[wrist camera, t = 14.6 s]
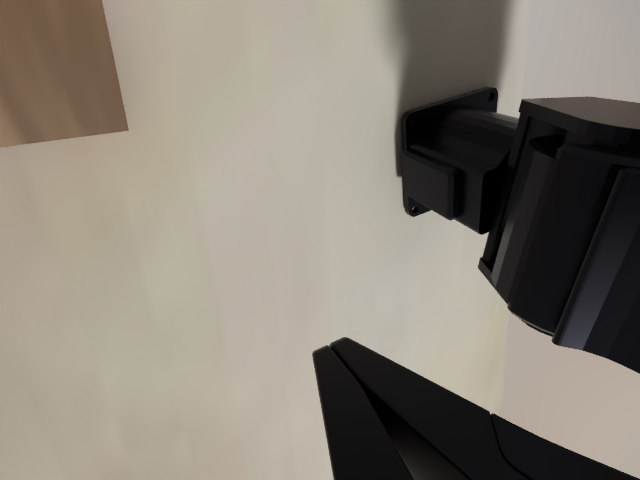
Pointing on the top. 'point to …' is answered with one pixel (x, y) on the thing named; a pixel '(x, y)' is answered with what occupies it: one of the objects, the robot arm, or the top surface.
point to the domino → (56, 72)
